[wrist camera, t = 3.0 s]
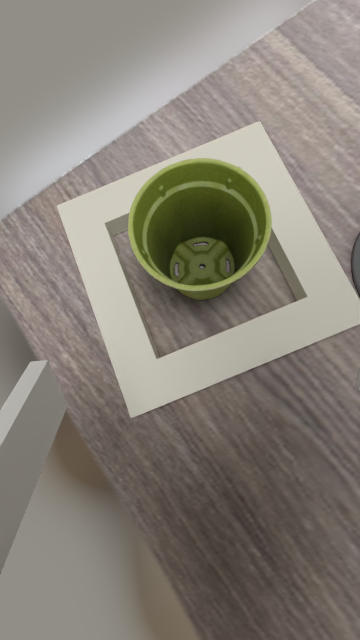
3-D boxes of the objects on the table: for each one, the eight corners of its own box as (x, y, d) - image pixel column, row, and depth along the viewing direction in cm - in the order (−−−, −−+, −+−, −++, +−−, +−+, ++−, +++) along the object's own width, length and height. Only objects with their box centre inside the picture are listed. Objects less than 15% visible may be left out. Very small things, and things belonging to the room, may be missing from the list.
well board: (255, 141, 31) (259, 121, 28) (355, 325, 27) (370, 319, 24) (68, 219, 31) (56, 205, 29) (138, 415, 27) (130, 418, 24)
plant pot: (154, 323, 28) (130, 297, 20) (147, 227, 30) (124, 166, 22) (259, 313, 27) (281, 282, 19) (246, 216, 29) (261, 148, 21)
